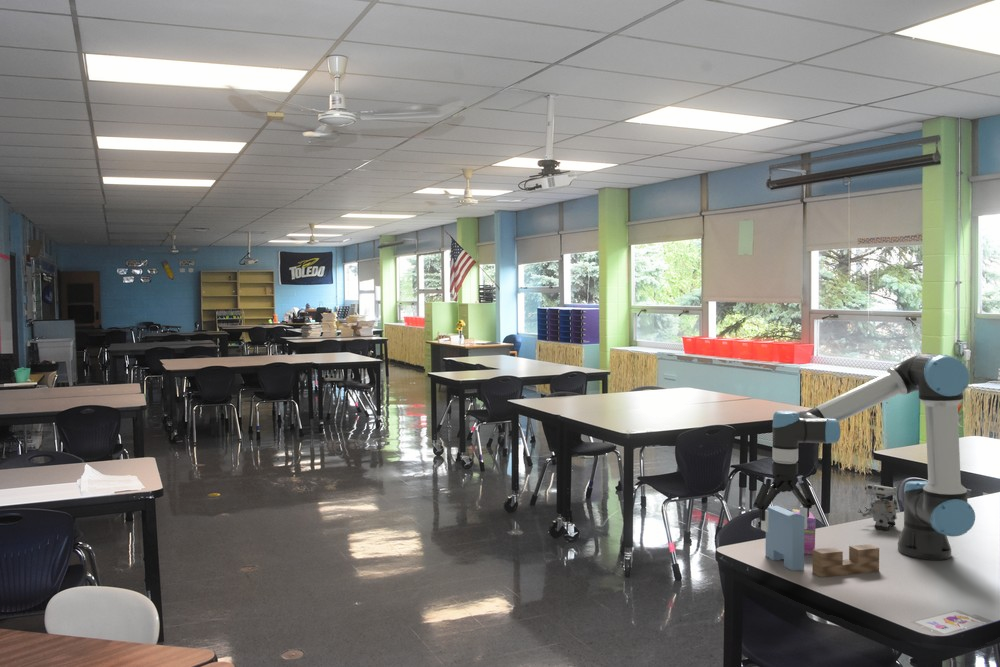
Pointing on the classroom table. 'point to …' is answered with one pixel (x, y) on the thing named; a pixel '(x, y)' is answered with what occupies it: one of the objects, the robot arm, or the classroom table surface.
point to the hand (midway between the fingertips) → (784, 529)
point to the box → (808, 532)
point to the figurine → (882, 506)
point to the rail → (845, 561)
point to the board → (785, 537)
